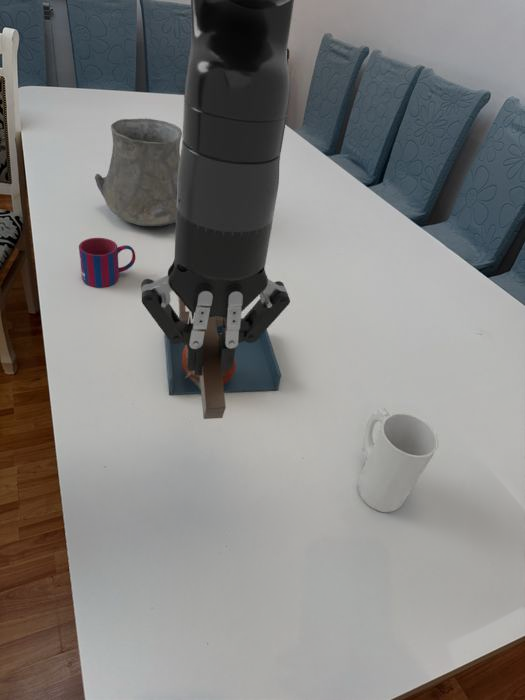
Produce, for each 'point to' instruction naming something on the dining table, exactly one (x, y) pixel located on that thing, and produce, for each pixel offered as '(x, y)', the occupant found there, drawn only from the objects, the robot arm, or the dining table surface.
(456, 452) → the dining table surface
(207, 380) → the fork
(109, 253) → the cup
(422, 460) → the mug
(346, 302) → the dining table surface
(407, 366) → the dining table surface
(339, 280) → the dining table surface
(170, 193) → the vessel
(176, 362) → the dustpan
